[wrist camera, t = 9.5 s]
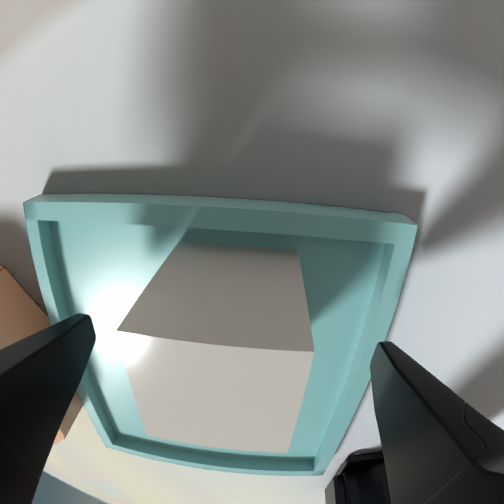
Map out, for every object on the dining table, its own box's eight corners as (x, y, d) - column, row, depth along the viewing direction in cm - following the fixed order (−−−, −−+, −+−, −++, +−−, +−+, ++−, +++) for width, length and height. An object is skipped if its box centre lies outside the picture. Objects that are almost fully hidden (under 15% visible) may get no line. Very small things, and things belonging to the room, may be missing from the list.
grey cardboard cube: (297, 250, 10) (314, 351, 6) (284, 344, 12) (287, 452, 7) (178, 241, 10) (115, 330, 6) (184, 334, 12) (147, 435, 7)
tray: (404, 214, 10) (417, 225, 9) (321, 460, 16) (322, 475, 15) (41, 194, 10) (22, 202, 9) (111, 433, 17) (105, 446, 16)
